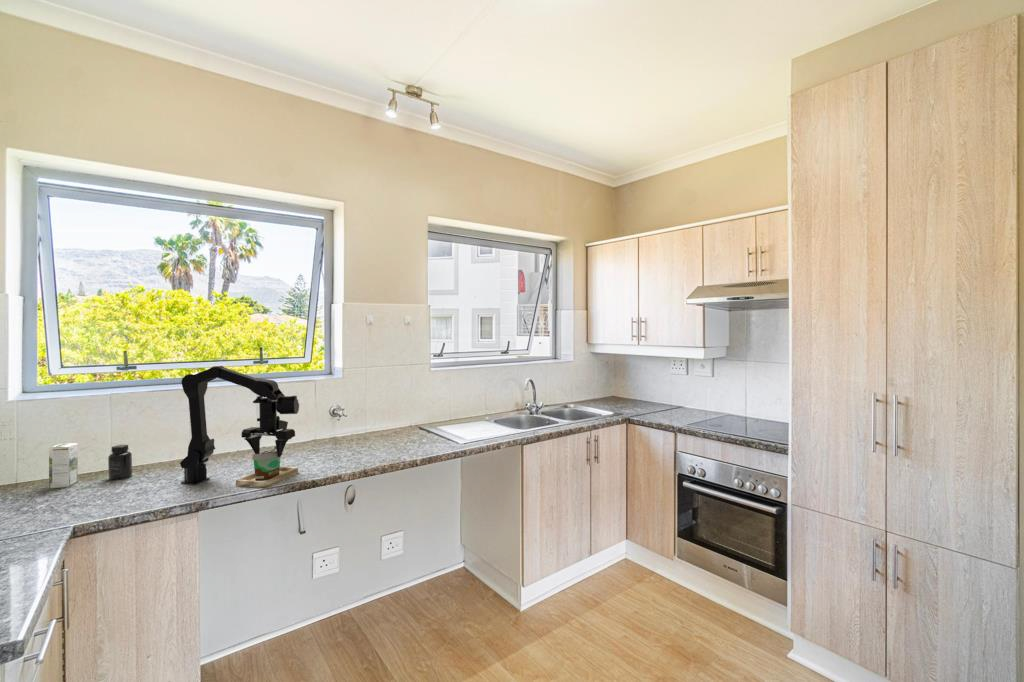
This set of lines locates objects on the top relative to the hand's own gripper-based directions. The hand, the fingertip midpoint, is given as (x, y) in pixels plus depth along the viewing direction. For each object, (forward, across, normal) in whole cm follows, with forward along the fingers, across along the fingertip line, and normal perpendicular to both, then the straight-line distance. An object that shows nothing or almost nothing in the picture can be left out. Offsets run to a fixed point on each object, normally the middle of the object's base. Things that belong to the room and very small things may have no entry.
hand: (268, 456), depth 174 cm
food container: (+8, -1, 0) cm, 8 cm away
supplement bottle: (+9, +55, +10) cm, 57 cm away
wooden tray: (+8, 0, 0) cm, 9 cm away
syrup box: (+9, +66, +21) cm, 70 cm away
